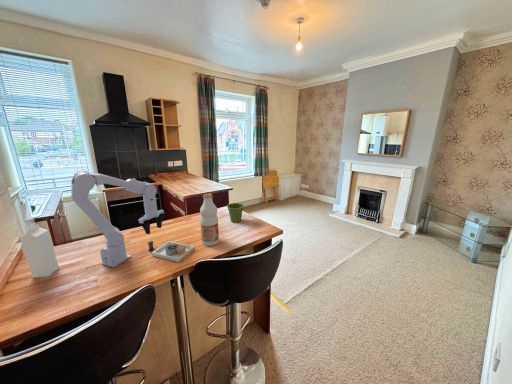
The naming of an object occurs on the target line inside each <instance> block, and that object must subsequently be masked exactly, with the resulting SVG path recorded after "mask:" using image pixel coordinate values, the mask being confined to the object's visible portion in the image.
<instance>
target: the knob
mask: <svg viewBox="0 0 512 384" xmlns="http://www.w3.org/2000/svg"><path fill="white" fill-rule="evenodd" d="M147 244H148V248H149V249H148V252H150V253H152V252H153V251H155V250H156V249H155V248H154V241H153V240H150V241H148V242H147Z"/></svg>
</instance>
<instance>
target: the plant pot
mask: <svg viewBox="0 0 512 384" xmlns="http://www.w3.org/2000/svg"><path fill="white" fill-rule="evenodd" d="M244 207H245V204H243V203H241V202H233V203H229V204H227V205H226V208H227V210H228V212H229V219H230V222H231V223H235V224H237V223H240V222H241V221H242V218H243V217H242V215H243V209H244Z"/></svg>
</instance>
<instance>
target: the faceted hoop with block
mask: <svg viewBox="0 0 512 384" xmlns="http://www.w3.org/2000/svg"><path fill="white" fill-rule="evenodd" d="M173 249H174V250H173ZM165 251H166V255H169V256H172V255H176V254H178V255H183V254H184V253H185V252H186V247H182V246H179V245H178V244H172V245H168V246H167V247H165Z"/></svg>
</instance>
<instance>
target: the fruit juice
mask: <svg viewBox="0 0 512 384" xmlns="http://www.w3.org/2000/svg"><path fill="white" fill-rule="evenodd" d="M202 198H203V202H202V205H201V206H200V209H199V212H200V215H201V216H200V232H201V233H200V234H201V243H202V244H203V245H204V246H209V247H211V246H215V245H217V244H218V243H219V238H220V236H219V234H220V233H219V219H218V215H217V213H218V207H217V206H216V205H215V203H214V201H213V194H212V193H204V194H203V195H202Z"/></svg>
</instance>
